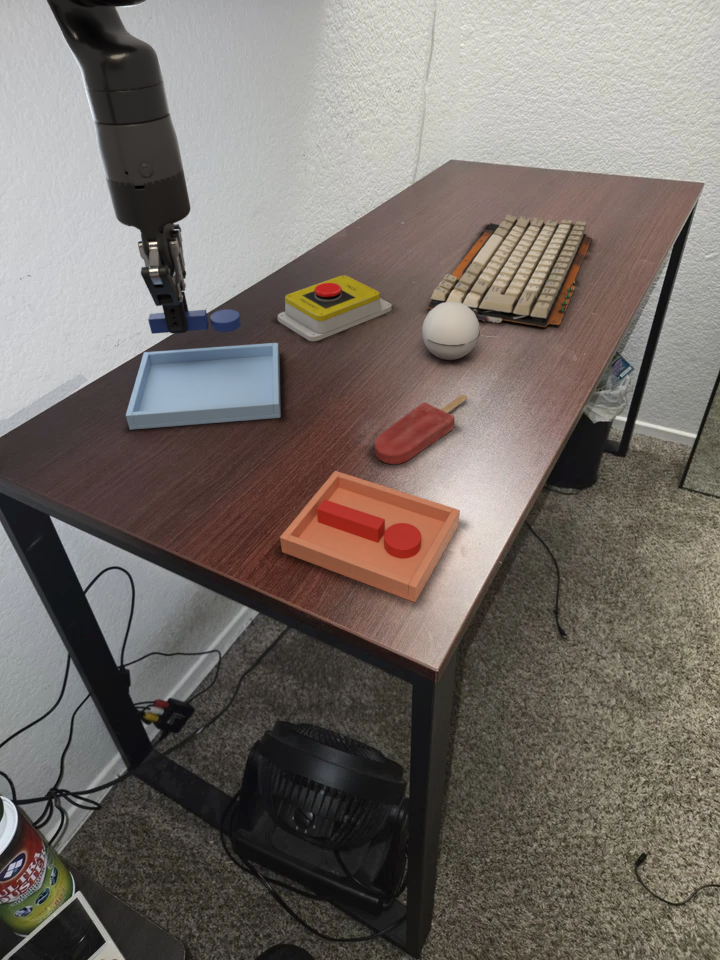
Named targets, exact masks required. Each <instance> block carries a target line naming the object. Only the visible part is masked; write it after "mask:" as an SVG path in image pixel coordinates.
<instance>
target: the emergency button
mask: <svg viewBox="0 0 720 960" xmlns="http://www.w3.org/2000/svg"><path fill="white" fill-rule="evenodd" d="M284 302H285V304H284V306H285V307H284V309H285V310H284V311H281V312H280V313H278V314H277V322H279V324H282V325H283V326H285V327H287V328H288V329H290V330H291V331H293V332H294V333H296V334H297V335H299V336H301V337H303V338H304V339H305V340H307V341H309V342H318V341H321V340H323V339H326V338H328V337H331V336H333V335H336V334H339V333H340V332H343V331H346V330H347V329H350V328H353V327H355V326H358V325H360V324H362V323H366V322H368V321H370V320H372V319H375V318H377V317H380V316H382V315H385V314H388V313H390V312H391V311H392V310H393V305H392V303H390V302H389V301H387V300H385V299H383V298H381V294H380V291H378V290H376V289H374V288H373V287H370V286H368V285H366V284H364V283H362V282H360V281H358V280H356V279H354V278H352V277H351V276H348V275H345V274H343V275H338V276H336V277H333V278H330V279H326V280H325V281H322V282H319V283H316V284H313V285H310V286H307V287H305V288H302V289H299V290H296V291H293V292H290V293H288V294H286V295H285V297H284Z"/></svg>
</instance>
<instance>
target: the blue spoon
mask: <svg viewBox="0 0 720 960" xmlns="http://www.w3.org/2000/svg"><path fill="white" fill-rule="evenodd" d="M185 313H186V319H187V323H188V330H187V332H194V331H207V330H209V320H210V325H211V328H212V330H213V331H215V332H218V333H230V332H233V331H236V330H238V329H239V328H240V327H241V326H242V320H241V314H240V312H239V311H237V310H235V309H220V310H217V311H215V312H213V313H212V314H211V315H210V317H208V314H207V310H206V309H198V310H188V311H185ZM147 321H148V324H149V328H150V333H151V334H152V335H154V334H166V333H167V334H168V333H170V332H169V331H168V328H167V324H166V319H165V315H164V312H155V313H154V312H153V313H149V316H148V319H147Z"/></svg>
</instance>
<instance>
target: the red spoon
mask: <svg viewBox="0 0 720 960" xmlns="http://www.w3.org/2000/svg"><path fill="white" fill-rule="evenodd" d="M317 517H318V522H319V523H321V524H324V525H327V526H330V527H333V528H336V529H339V530H342V531H345V532H348V533H351V534H353V535H356V536H359V537H362V538H365V539H368V540H371V541H374V542H377V543H378V542H379V541H380V539H381V538H382V536H383V535H384V548H385V550H386V551H387V553H388V554H390V555H391V556H393V557H396V558H402V559H403V558H410V557H413V556H414V555H416V554H417V553H418V552H419V551H420V548H421V533H420V531H419V530H418V528H416V527H415V526H413V525H411V524H408V523H397V524H394V525H391V526H390V527H388V528H387V529H386V531H385V519H383V518H380V517H377V516H374V515H371V514H368V513H364V512H361V511H358V510H355V509H352V508H349V507H346V506H343V505H340V504H337V503H334V502H331V501H328V500H325V499H324V500H323V502H322V503H321V504H320V505H319V507H318V508H317Z"/></svg>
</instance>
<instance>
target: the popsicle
mask: <svg viewBox="0 0 720 960" xmlns="http://www.w3.org/2000/svg"><path fill="white" fill-rule="evenodd" d="M467 400H468V395H466V394H460V395H459V396H458V397H456V398H455V399H453V400H451V401H450V402H449V403H448V404H446V405H444V406H443V407H442V408H441V409H440V408H438V407H436V406H434V405H432V404H431V403H427V402H422V403H421V404H419V405H418V406H416V407H415V408H414V409H412V410H411V411H410V412H409V413H408V414H406V415H404V416H403V417H401V418H400V419H398V421H396V422H395V423H393V424H392V425H390V427H388V428H387V429H385V430H384V431H383V432H382V433H380V435H378V436H377V438H375V440H374V456H375V457H376V458H377V460H379V461H380V462H382V463H385V464H388V465H399V464H404V463H405V462H408V461H409V460H411V459H412V458H414V457H415V456H417V455H418V454H419V453H421V452H422V451H424V450H425V449H427V448H428V447H429V446H431V445H433V444H434V443H435V442H437V441H438V440H439V439H441V438H442V437H444V436H445V435H447V434H448V433H450V432H451V431H453V430H454V428H455V419H456V417H455V416H454V415H453V414H451V413H450V412H452V411H453V410H454V409H456V408H457V407H459V406H460V405H461V404H463V403H464V402H466V401H467Z"/></svg>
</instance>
